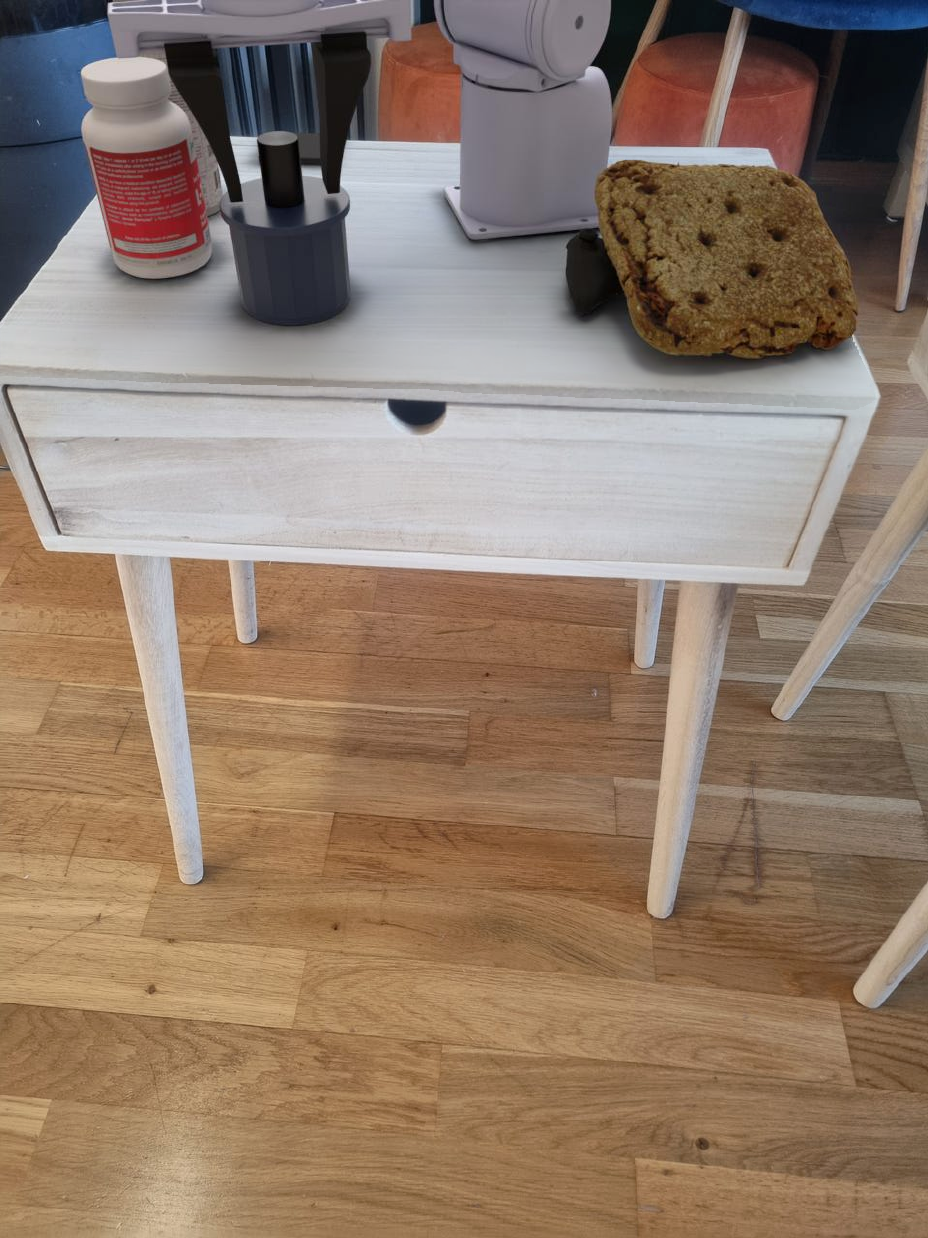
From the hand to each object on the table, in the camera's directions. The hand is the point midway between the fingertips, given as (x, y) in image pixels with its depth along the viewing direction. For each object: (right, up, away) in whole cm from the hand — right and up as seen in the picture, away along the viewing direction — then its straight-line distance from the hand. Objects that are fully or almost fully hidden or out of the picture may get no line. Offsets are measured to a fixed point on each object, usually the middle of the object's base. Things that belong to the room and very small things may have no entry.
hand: (283, 190), depth 55 cm
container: (-9, +5, +14) cm, 17 cm away
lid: (0, -1, +1) cm, 1 cm away
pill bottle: (-9, -1, +8) cm, 12 cm away
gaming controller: (+20, -4, +6) cm, 21 cm away
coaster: (-3, +12, +21) cm, 24 cm away
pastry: (+25, -3, +3) cm, 25 cm away
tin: (0, -4, +5) cm, 6 cm away
